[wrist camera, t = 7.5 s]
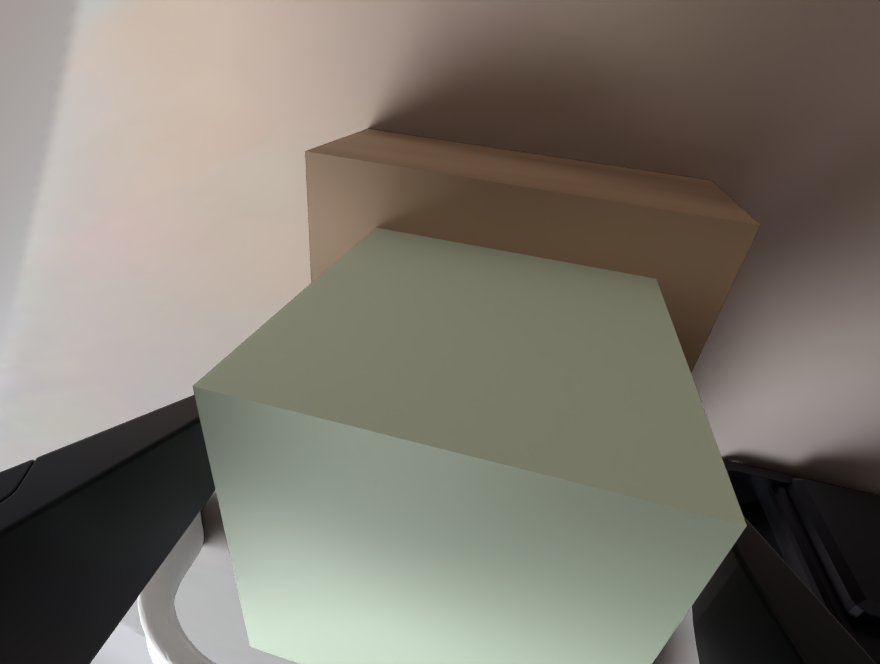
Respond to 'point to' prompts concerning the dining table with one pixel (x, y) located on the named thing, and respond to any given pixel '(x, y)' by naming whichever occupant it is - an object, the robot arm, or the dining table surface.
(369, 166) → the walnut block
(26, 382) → the dining table surface
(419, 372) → the sage block
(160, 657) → the spoon rest
